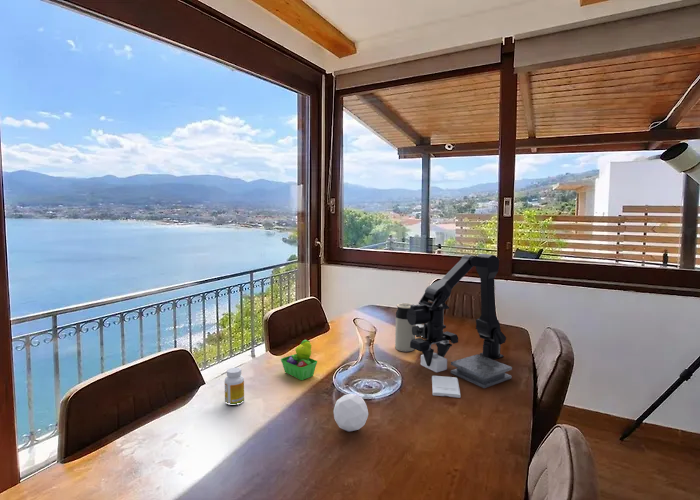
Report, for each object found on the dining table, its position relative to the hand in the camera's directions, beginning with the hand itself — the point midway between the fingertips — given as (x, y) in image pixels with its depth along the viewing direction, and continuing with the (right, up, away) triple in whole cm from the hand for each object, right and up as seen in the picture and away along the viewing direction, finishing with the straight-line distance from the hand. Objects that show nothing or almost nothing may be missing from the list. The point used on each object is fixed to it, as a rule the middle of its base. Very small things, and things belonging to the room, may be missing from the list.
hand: (433, 364), depth 143 cm
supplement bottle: (-63, -3, -27) cm, 69 cm away
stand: (+14, -2, -7) cm, 16 cm away
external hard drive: (0, -3, -16) cm, 17 cm away
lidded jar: (+4, +2, +35) cm, 35 cm away
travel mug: (-8, +1, +19) cm, 20 cm away
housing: (0, -1, 0) cm, 1 cm away
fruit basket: (-47, -2, -7) cm, 47 cm away
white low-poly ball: (-29, -5, -39) cm, 49 cm away
